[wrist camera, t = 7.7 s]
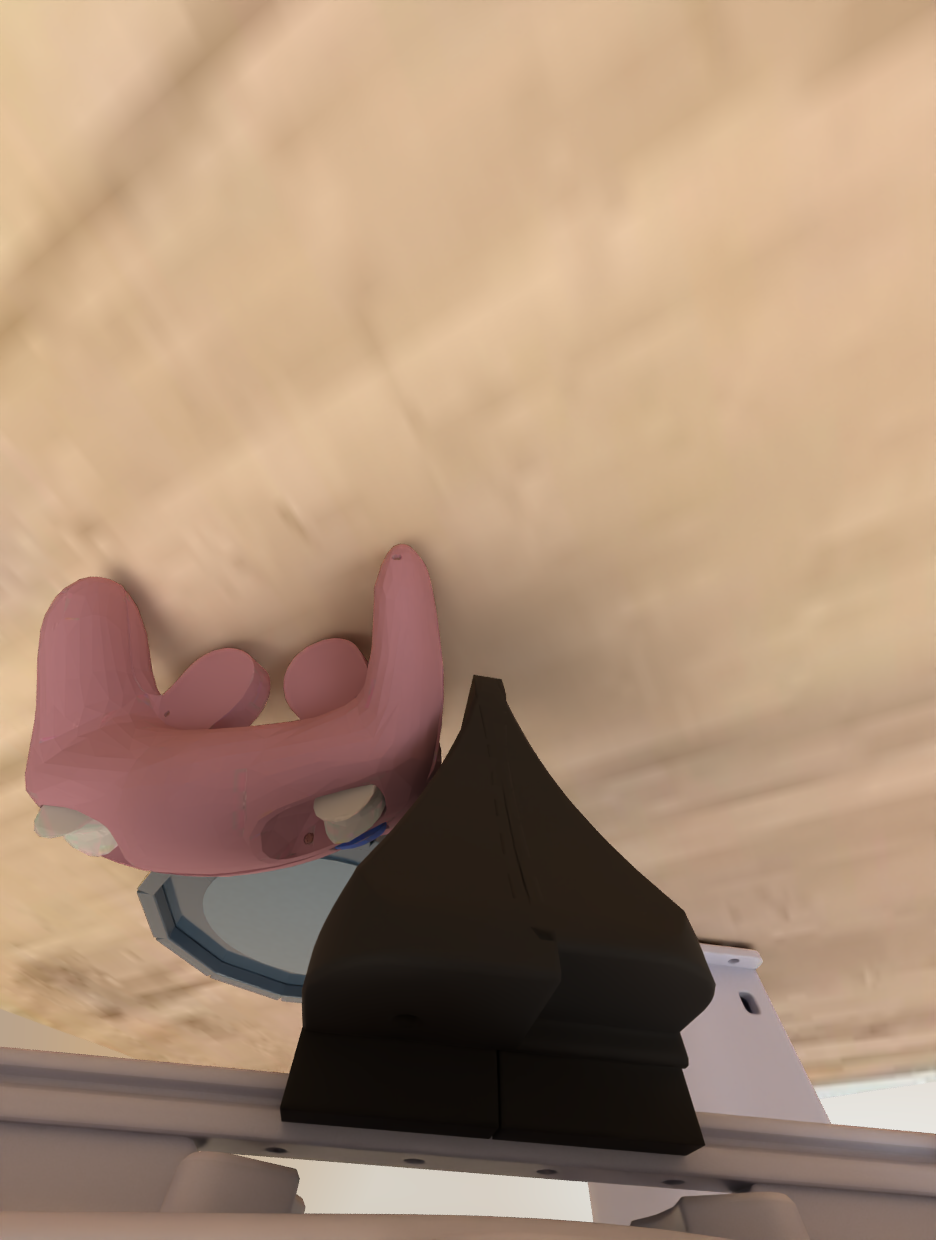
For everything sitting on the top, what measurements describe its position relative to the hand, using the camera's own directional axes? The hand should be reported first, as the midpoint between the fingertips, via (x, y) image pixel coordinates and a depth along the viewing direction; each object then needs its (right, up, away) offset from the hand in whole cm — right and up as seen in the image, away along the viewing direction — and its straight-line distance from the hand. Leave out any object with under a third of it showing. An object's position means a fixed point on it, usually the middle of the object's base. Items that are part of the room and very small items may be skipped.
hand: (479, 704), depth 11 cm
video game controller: (-6, +2, +1) cm, 6 cm away
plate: (-7, -11, +8) cm, 15 cm away
